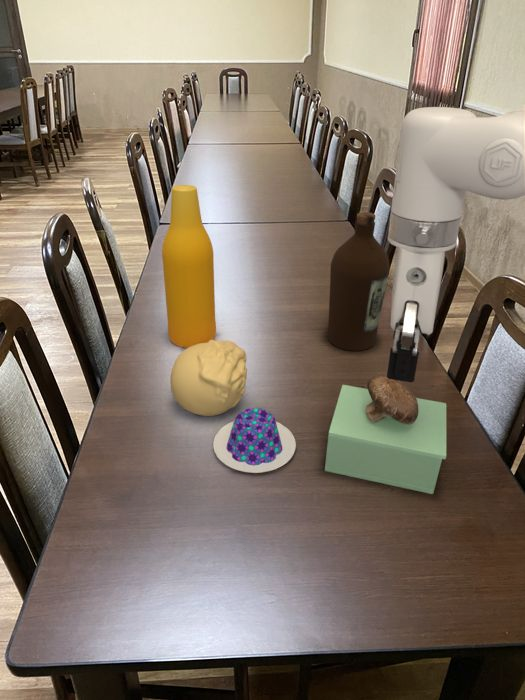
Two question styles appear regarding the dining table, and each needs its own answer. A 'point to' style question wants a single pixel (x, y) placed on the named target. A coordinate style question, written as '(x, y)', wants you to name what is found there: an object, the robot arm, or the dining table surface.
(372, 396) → the mushroom
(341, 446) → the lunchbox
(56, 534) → the dining table surface
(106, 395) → the dining table surface
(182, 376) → the sculpture
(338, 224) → the dining table surface
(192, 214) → the beer bottle
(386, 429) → the green flat panel
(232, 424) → the pudding
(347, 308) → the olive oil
